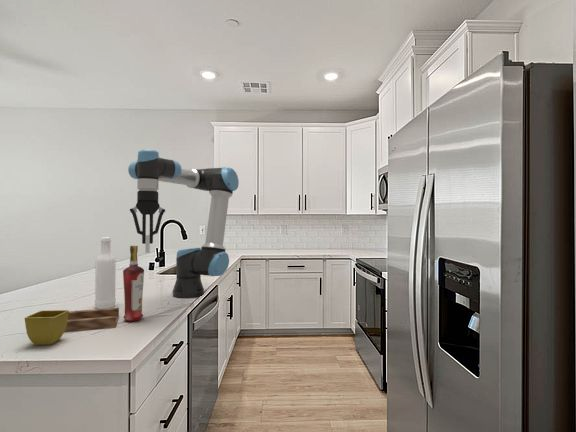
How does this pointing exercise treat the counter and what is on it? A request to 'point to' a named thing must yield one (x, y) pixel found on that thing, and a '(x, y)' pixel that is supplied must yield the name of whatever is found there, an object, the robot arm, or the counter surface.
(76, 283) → the counter surface
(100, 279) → the bottle
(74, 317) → the rest
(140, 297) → the liquor
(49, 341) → the flower pot
